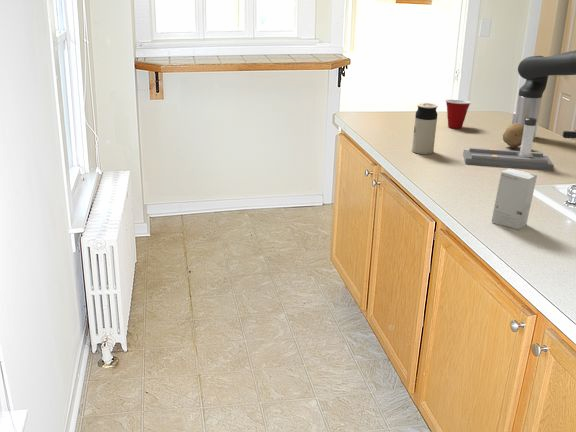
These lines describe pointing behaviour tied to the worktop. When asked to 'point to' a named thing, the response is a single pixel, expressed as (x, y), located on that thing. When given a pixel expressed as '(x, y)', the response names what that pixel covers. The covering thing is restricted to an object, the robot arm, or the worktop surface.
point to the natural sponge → (513, 135)
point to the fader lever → (527, 138)
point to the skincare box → (514, 198)
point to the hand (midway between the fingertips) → (563, 134)
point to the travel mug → (425, 128)
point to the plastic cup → (456, 113)
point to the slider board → (506, 159)
